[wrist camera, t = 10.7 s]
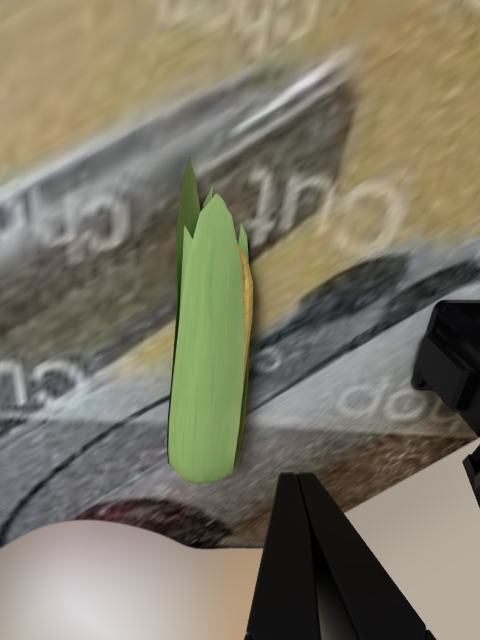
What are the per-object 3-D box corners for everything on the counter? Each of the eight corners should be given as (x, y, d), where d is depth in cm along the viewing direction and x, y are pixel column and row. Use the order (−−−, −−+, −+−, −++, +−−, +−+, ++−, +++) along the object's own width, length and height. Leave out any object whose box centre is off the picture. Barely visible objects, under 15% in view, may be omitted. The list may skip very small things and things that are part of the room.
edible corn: (155, 496, 22) (222, 518, 21) (153, 153, 13) (265, 166, 13) (186, 440, 27) (243, 456, 26) (200, 157, 18) (285, 167, 17)
